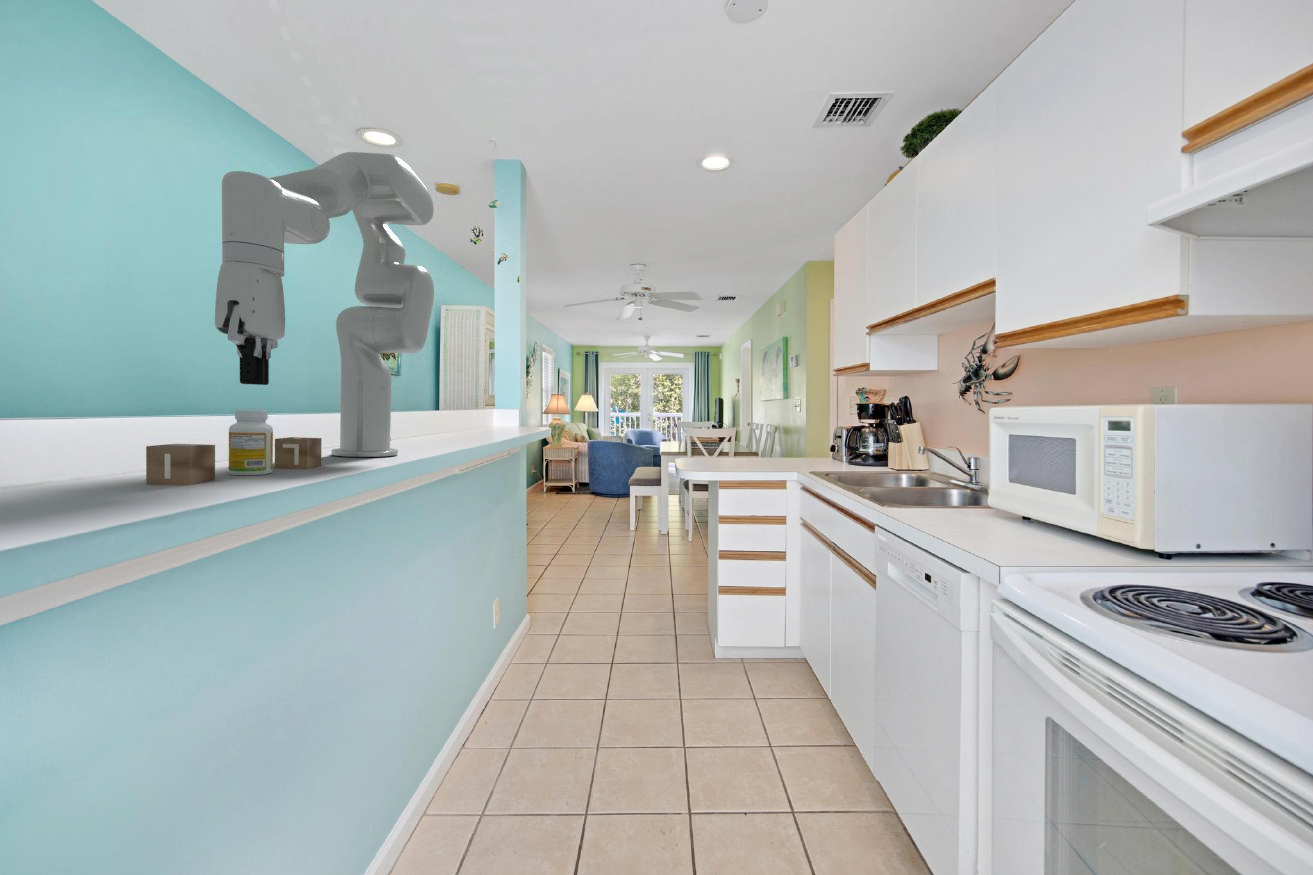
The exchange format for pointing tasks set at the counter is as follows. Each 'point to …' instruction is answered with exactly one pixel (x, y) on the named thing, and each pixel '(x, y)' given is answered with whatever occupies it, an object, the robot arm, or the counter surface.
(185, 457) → the walnut block
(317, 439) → the walnut block
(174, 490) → the counter surface
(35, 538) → the counter surface
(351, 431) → the robot arm
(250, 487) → the counter surface
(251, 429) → the supplement bottle
